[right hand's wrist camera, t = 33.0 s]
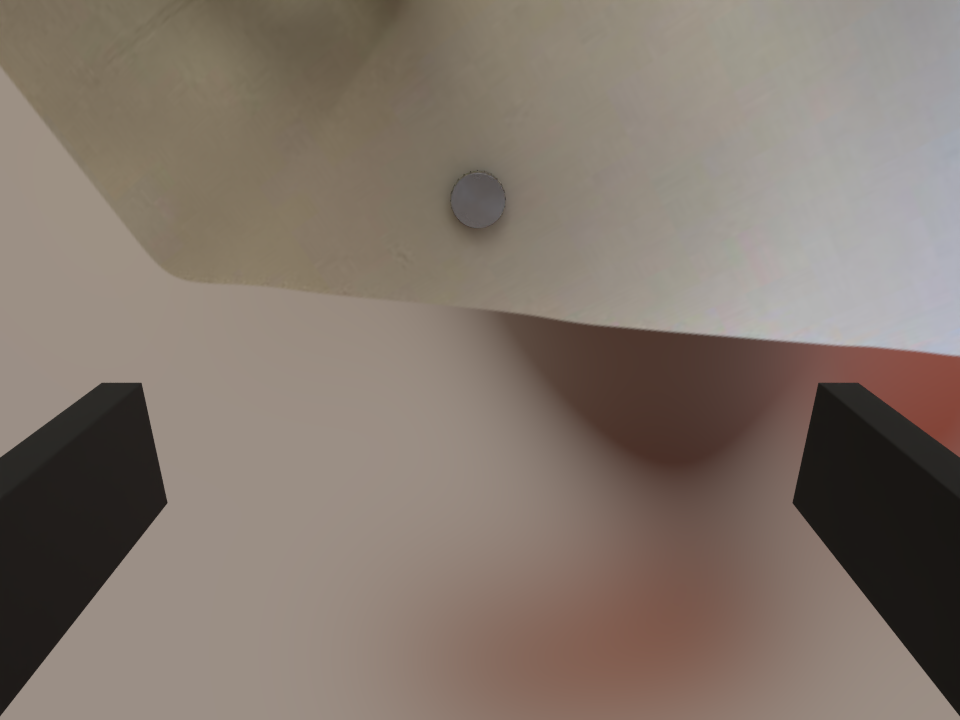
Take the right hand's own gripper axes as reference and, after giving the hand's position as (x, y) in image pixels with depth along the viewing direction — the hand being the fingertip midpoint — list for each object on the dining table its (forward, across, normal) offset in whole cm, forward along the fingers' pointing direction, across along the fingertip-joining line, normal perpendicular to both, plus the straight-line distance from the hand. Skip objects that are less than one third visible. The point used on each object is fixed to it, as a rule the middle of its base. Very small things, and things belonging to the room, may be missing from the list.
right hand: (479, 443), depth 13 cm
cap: (+36, 0, 0) cm, 36 cm away
